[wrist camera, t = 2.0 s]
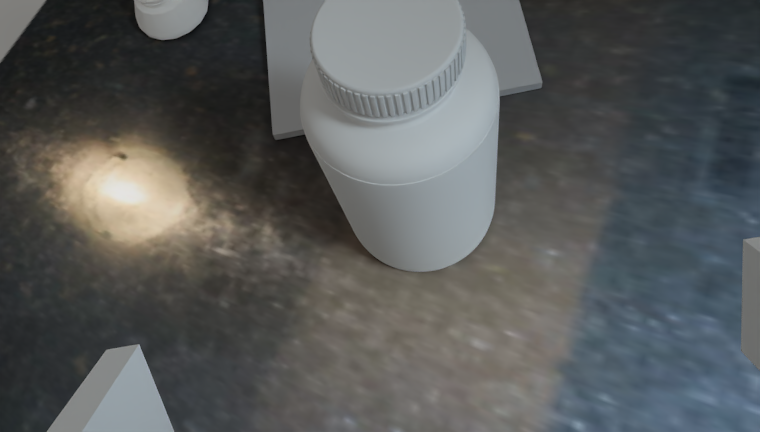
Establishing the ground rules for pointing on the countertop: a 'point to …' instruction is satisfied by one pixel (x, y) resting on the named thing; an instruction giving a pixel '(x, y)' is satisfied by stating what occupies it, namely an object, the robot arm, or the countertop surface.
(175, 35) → the lidless jar
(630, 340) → the countertop surface
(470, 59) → the pill bottle
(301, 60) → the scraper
